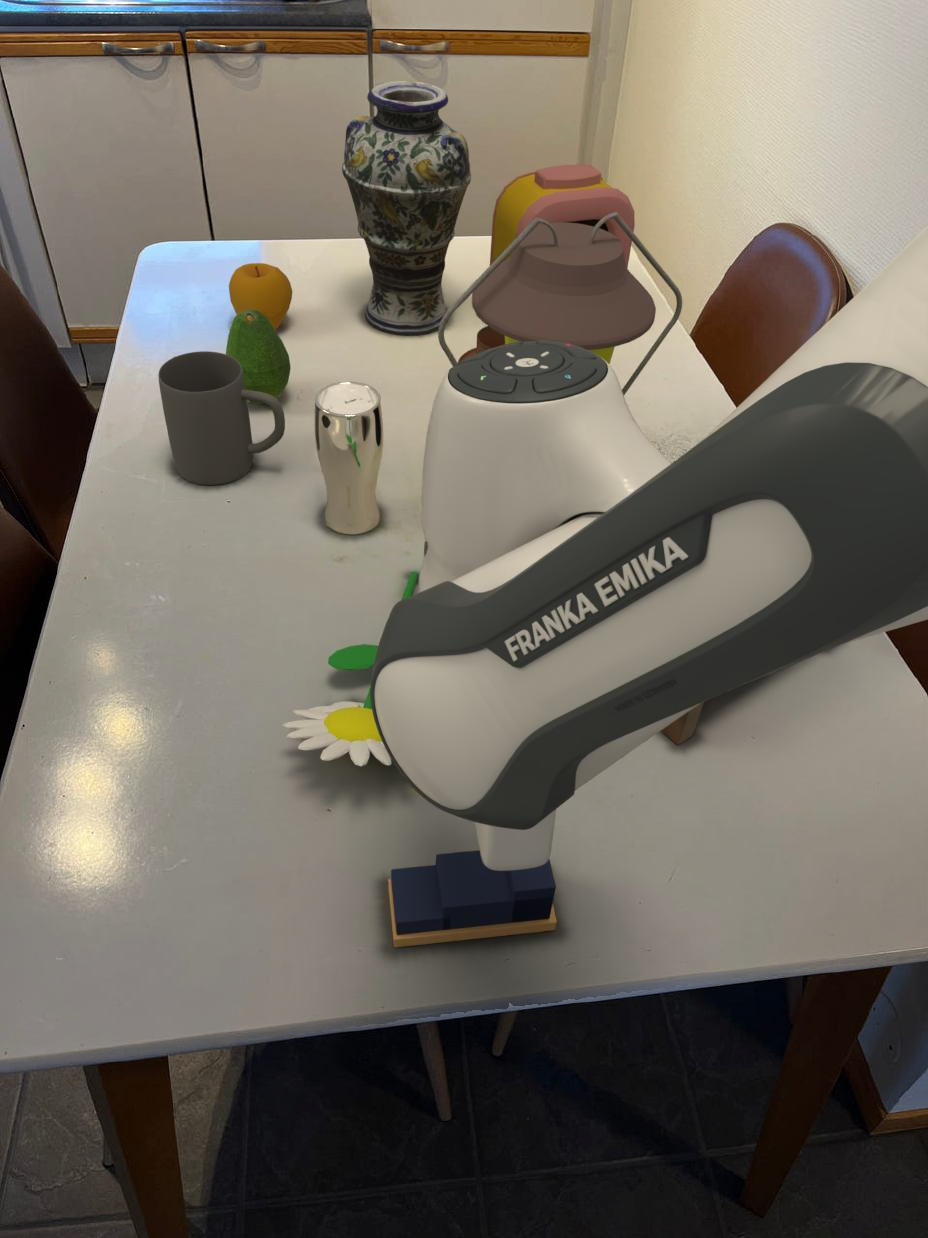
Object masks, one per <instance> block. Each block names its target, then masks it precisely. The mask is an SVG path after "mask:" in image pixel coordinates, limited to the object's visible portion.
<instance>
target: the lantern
mask: <svg viewBox="0 0 928 1238" xmlns="http://www.w3.org/2000/svg"><path fill="white" fill-rule="evenodd" d="M610 218H614V219H615V220H616V222H617V223H618V224H619V225H620V227H621V228H622V229H623V230H624V232H625V233H626V234H627V235H628V236H629V238H630V239H631V240H632V243H633V244H634V245H635V246H636V247H637V249H638V250H639V251H640V252H641V254H642V255H643V256H644V258H645V259H646V260H647V261H648V262H649V264H650V265H651V267H653V268H654V270H655V271H656V272H657V273H658V275H659V276H660V277H661V279H663V281H664V282H665V284H667V286H668V287H669V288H670V290H671V291H672V292H673V294H674V296H675V299H676V307H675V311H674V314H673V316H672V318H671V319H670V320H669V322H668V324H667V325H666V326H665V328H664V329H663V330H662V332H661V333H660V334H659V335H658V338H657V339H656V340H655V342H654V343H653V345H652V346H651V347H650V349H649V350H648V351H647V353H646V355H645V356H644V358H643V359H642V360H641V362H640V363H639V365H638V366H637V368H636V369H635V371H634V372H633V373H632V374H631V376H630V377H629V379H628V380H627V382H626V383H625V384H624V386H623V387H622V388H621V389H622V392H623V395H624V396H625V395H626V394H627V392H628V391H629V390H630V388H631V387H632V386H633V384H634V382H635V381H636V379H637V378H638V377H639V375H640V374H641V373H642V371H643V369H644V368H645V367H646V365H647V364H648V363H649V361H650V359H651V358H652V357H653V355H654V354H655V353H656V351H657V350H658V348H659V347H660V346H661V344H662V343H663V341H664V340H665V338H666V337H667V336H668V334H669V333H670V331H671V330H672V329H673V327H674V326H675V325H676V323H677V322H678V320H679V318H680V316H681V313H682V309H683V296H682V293H681V290H680V289H679V287H678V286H677V285H676V284H675V283H674V281H673V280H672V279H671V277H670V275H668V274H667V272H666V271H665V269H663V267H662V266H661V265H660V264H659V262H658V261H657V260H656V259H655V257H654V256H653V255H652V254H651V252H650V251H649V250H648V249H647V247H646V246H645V245H644V243H643V242H642V241H641V240H640V239H639V237H638V236H637V235H636V234H635V233H634V232H632V230H631V229H630V228H629V227H628V225H627V224H626V223H625V222H624V220H623V219H622V218H621V217H620V215H619V214H618V213H617V212H614V213H611V214H609V215H607V216H605V217H604V218H602V219H601V220H600V221H599V222H598V223H597V224H596V225H595V227H593V226H589V225H584V224H577V223H565V222H557V223H549V222H547V221H546V220H543V219H540V218H535V219H534V220H533V221H532V223H531V224H530V225H529V226H528V227H527V228H526V229H525V230H524V231H523V232H522V233H521V234H520V235H519V236H518V237H517V238H516V239H515V240H514V241H513V242H512V243H511V244H510V245H509V247H508V248H507V249H506V250H505V251H504V252H503V253H502V254H501V255H500V256H499V257H498V258H497V259H496V260H495V261H494V262H493V263H492V264H491V265H490V264H489V266H488V267H487V268H486V269H485V270H484V272H482V274H481V275H479V276H478V278H477V279H476V280H475V281H474V282H473V283H472V284H471V285H470V286H469V287H468V288H467V289H466V290H465V291H464V292H463V294H461V295H460V297H458V299H456V301H455V302H454V303H453V304H451V306H450V307H449V308H447V309H446V311H447V312H446V313H445V314H444V316H443V318H442V320H441V322H440V325H439V330H437V338H438V342H439V343H438V344H439V346H440V347H441V350H442V351H443V352H444V354H445V356H446V357H447V359H448V361H449V362H450V364H451V366H452V367H454V366H455V365H457V364H458V361H457V359H456V358H455V356H454V354H453V352H452V351H451V349H450V347H449V346H448V345H447V343H446V339H445V328H446V325H447V323H448V321H449V319H450V317H451V316H452V315H453V314H454V313H455V312H456V310H458V308H459V307H460V306H462V304H464V303H465V301H466V300H467V299H469V297H470V296H471V307H472V309H473V311H474V314H475V315H476V316H477V317H478V318H479V320H481V322H482V323H483V324H484V325H486V326H489V327H490V328H492V329H493V330H495V331H497V332H499V333H501V334H503V335H505V344H508V343H512V342H517V341H520V342H525V341H540V340H549V341H558V342H564V343H569V344H573V345H577V346H579V347H582V348H584V349H586V350H589V351H591V352H593V353H595V354H597V355H598V356H600V357H601V358H603V359H604V360H605V361H606V362H607V363H608V364H609V365H610V364H611V361H612V357H613V354H614V351H615V348H616V347H618V346H619V347H620V346H622V345H625V344H628V343H631V342H634V341H636V340H637V339H640V338H641V337H642V336H644V335H645V334H646V333H647V332H648V331H649V330H651V329H652V326H653V325H654V323H655V320H656V314H657V307H656V304H655V301H654V299H653V297H652V295H651V293H650V292H649V291H648V290H647V289H646V287H645V286H644V285H643V284H642V283H641V282H640V281H639V280H638V279H637V277H635V276H634V274H632V273H631V271H630V270H629V269H628V268H627V267H626V262H625V255H624V248H623V244H622V242H621V241H620V240H619V239H618V238H617V237H616V236H614V235H613V234H611V233H609V232H607V231H605V230H602V229H600V228H599V227H600V226H601V225H602V224H603V223H604V222H606V221H607V220H609V219H610ZM539 223H542V224H540V225H538V224H539ZM513 250H514V251H513ZM512 251H513V253H512V255H511V257H510V258H508V259H507V260H506V261H504V260H505V258H506V257H507V256H508V255H509V254H510V253H511V252H512ZM503 261H504V262H503ZM502 262H503V263H502Z"/></svg>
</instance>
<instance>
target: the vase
mask: <svg viewBox="0 0 928 1238" xmlns="http://www.w3.org/2000/svg"><path fill="white" fill-rule="evenodd" d="M366 99H367V102H368V103H369V104H371V106H373V107H376V111H377V112H376V115H374V116H368V115H367V116H366V115H358V116H356V117H354V118H353V119H351V120H350V122H349V123H348V124H347V126H346V130H345V142H344V152H343V162H342V165H341V172H342V175H343V177H344V179H345V180H346V183H347V186H348V189H349V193H350V196H351V199H352V203H353V205H354V210H355V214H356V220H357V222H358V223H357V231H358V232H357V233H358V234H359V236H360V237H361V238H362V239H363V240H364V243H365V246H366V248H367V252H368V256H369V259H368V262H369V263H368V264H369V268H370V271H371V273H372V279H373V280H372V288H371V292H370V295H369V299H368V303H367V306H366V309H365V312H364V319H365V321H366V323H367V324H368V325H369V326H370V327H372V328H373V329H376V330H378V331H381V332H383V333H386V334H389V335H390V334H391V335H397V336H408V337H409V336H423V335H427V334H431V333H434V332H438V330H439V325H440V322H441V320H442V318H443V316H444V314H445V313H446V312H447V308H446V302H445V298H444V292H443V285H442V282H443V277H444V276H443V275H444V271H445V268H446V257H447V252H448V249H449V246H450V243H451V242H452V241H453V239H454V237H455V234H456V230H455V228H456V224H457V220H458V217H459V213H460V209H461V207H462V204H463V201H464V197H465V195H466V193H467V190H468V187H469V185H470V183H471V181H472V171H471V163H470V153H469V147H468V141H467V140H466V138H465V136H464V135H463V134H462V133H461V132H460V131H456V129H455V130H454V129H453V128H452V127H450V125H448V124H447V123H446V122H445V121H444V120H442V119H441V117H440V115H439V112H440V110H441V109H443V108H444V107H446V106H447V105H448V103H449V96H448V95H447V93H446V91H445V90H444V89H442V88H441V87H439V86H436V85H434V84H431V83H427V82H422V81H413V80H395V81H394V80H393V81H386V82H382V83H378V84H376V85H375V86H373V87H372V88H371V89H370V90H369V92H368V93H367V97H366Z"/></svg>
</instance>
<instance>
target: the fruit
mask: <svg viewBox="0 0 928 1238" xmlns="http://www.w3.org/2000/svg"><path fill="white" fill-rule="evenodd" d="M225 350H226V351H225V354H226V355H229V356H231V357H233V358H234V359H236V360H237V361H238V362H239V363H240V365H241V367H242V370H243V375H244V381H245V387H246V390H252V391H258V392H263V393H266V394H269V395H272V396H274V397H275V398H276V399H278V397H280V396H281V395H282V394H283V392H284V391H285V389H286V387H287V385H288V383H289V379H290V374H291V369H292V368H291V361H290V355H289V353H288V351H287V348H286V346H285V344H284V341H283V340H282V339H281V337H280V336H279V334H278V332H277V329H274V327H273V326H272V324H271V323H270V321H269V319H268V318H267V317H266V316H264V315H263V314H262V313H261V312H259V311H257V310H246V311H244V312H241V313H239V314H235V316H234V318H233V319H232V322H231V325H230V327H229V332H228V336H227V342H226V348H225ZM247 402H248V403H250V404H251V403H252V404H255V405H258V404H265V403H264V402H260V401H254V400H247Z"/></svg>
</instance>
